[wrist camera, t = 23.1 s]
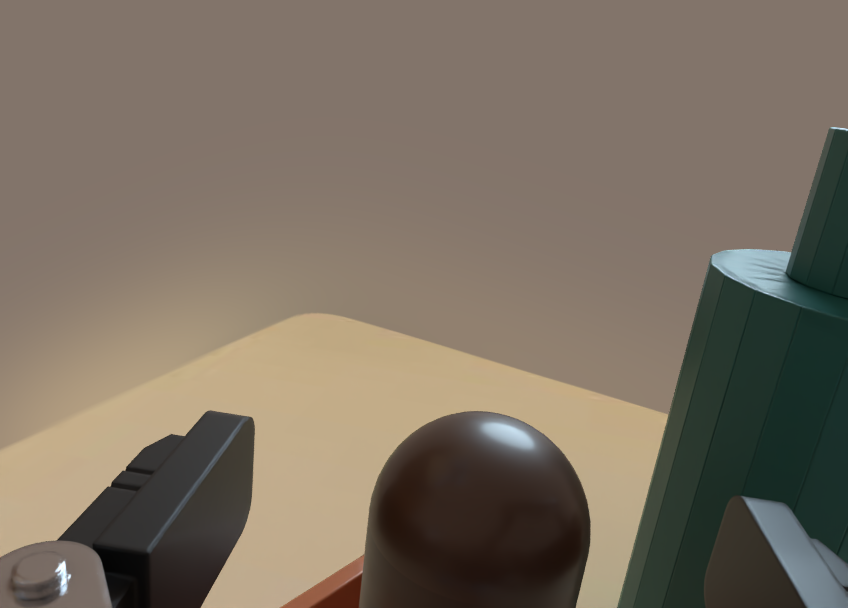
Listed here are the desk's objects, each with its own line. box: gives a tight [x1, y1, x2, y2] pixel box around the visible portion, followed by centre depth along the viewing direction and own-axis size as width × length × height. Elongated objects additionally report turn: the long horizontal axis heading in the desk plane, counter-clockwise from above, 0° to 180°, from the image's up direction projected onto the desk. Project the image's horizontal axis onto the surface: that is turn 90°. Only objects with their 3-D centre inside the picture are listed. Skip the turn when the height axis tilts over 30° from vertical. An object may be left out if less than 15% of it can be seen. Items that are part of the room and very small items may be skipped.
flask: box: [617, 127, 848, 608], centre depth 20 cm, size 8×8×18 cm
